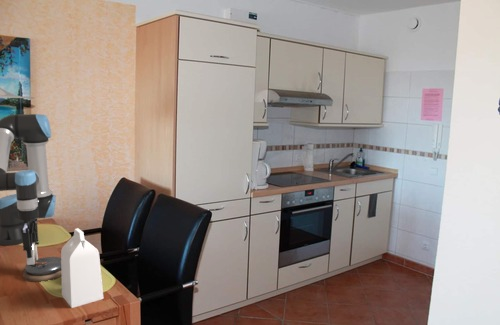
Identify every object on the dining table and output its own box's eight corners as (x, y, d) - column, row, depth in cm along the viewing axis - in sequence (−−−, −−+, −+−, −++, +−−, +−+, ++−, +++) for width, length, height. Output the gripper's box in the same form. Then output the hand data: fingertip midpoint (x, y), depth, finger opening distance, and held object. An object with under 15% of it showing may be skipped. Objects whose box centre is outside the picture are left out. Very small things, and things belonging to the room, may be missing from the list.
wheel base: (55, 262, 192) (55, 257, 192) (75, 272, 182) (75, 268, 181) (16, 274, 179) (15, 269, 179) (34, 286, 169) (34, 281, 168)
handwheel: (70, 261, 188) (69, 237, 186) (55, 275, 173) (54, 249, 171) (36, 261, 187) (34, 237, 185) (18, 275, 172) (16, 249, 171)
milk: (103, 298, 159) (100, 231, 155) (71, 308, 152) (67, 238, 148) (92, 287, 168) (89, 223, 164) (61, 295, 161) (57, 229, 157)
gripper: (31, 214, 168) (35, 270, 172) (43, 202, 184) (47, 253, 188) (10, 214, 166) (15, 271, 171) (25, 203, 183) (29, 254, 187)
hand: (32, 262), depth 179 cm, fingers open, 4 cm apart
